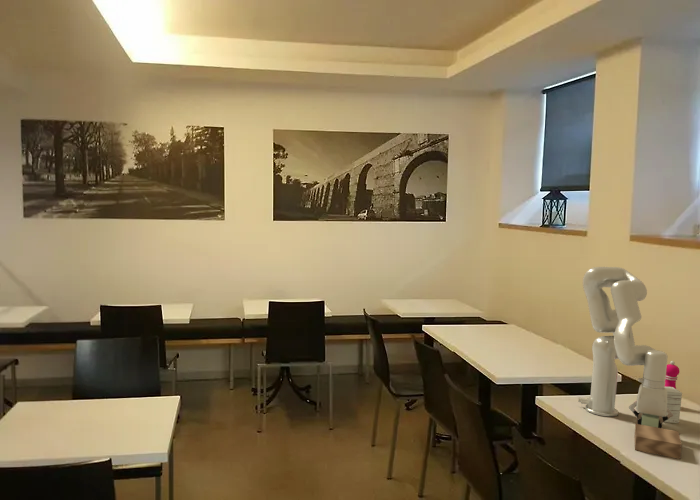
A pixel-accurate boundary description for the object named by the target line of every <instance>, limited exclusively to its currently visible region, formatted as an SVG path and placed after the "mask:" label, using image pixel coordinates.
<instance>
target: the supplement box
mask: <svg viewBox="0 0 700 500" xmlns="http://www.w3.org/2000/svg"><path fill="white" fill-rule="evenodd" d="M665 388H666V390H667V407H668V408H669V409H670V411H671V412H672V413H673V417H671V418H669V419H668V420H666V421H664V422H663V423H673V424H679V422H680V415H681V407H682V398H683V392H681V391H680V390H679V389H677V388H676V389H675V388H673V387H665ZM667 414H668V413H667V412H666V415H667ZM662 417H663V416H662Z"/></svg>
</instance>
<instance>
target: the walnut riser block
mask: <svg viewBox="0 0 700 500" xmlns="http://www.w3.org/2000/svg"><path fill="white" fill-rule="evenodd" d="M679 433H680V431H679V430H678V431H677V430H674V429H673V430H672V429H667V428H657V427H651V426H646V425H640V424H637V423H635V426H634V437H633V438H634V439H633V440H634V451H637V452H644V453H647V454H652V455H653V454H654V455H657V454H658V456H662V455H663V456H664V457H668V458H673V459H679V460H681V456H682V455H681V454H682V446H683V444H682V441H681V436H680V434H679Z"/></svg>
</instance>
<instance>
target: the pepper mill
mask: <svg viewBox="0 0 700 500" xmlns="http://www.w3.org/2000/svg"><path fill="white" fill-rule="evenodd" d="M679 374H680V368H679V367H678V366H677V365H676V363H675V361H674V360H671V361H670V362H669V363H667V369H666V378H665V387H673V388H675V389H677V387H676V386H677V385H676V383H677V381H678V375H679Z"/></svg>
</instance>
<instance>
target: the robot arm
mask: <svg viewBox="0 0 700 500" xmlns="http://www.w3.org/2000/svg"><path fill="white" fill-rule="evenodd" d="M582 287H583V288H582V289H583V291H584V295H585V297H586V300H587V306H588V312H589V316H590V321H591V326H592V330H594V331H595V332H596V333H600V334H603V333H604V334H608V333H609V334H610V333H612V335H602V336H598V337H596V338H595V339H594V340H593V343H592V344H591V345H592V346H591V350H592V375H591V384H590V386H591V387H590V396H589V398H588V397H587V398H583V397H578V402H577V403H580V404H581V405H585V410H586V411H587V412H589V413H591V414H594V415H598V416H602V417H615V416H618V415H619V411H618V409H617V408H616V395H617V385H618V375H619V374H618V373H619V372H618V365H617V363H616V361H615V360H619V361H620V362H621V363H620V364H622V365H625V366H628V367H630V366H643V374H642V377H639V378H638V380H637V381H638V383H641V384H640V385H639V388H638V391H637V392H638V393H637V396H636V397H637V398H636V401H635V402H633V403H632V404H630V405H629V406H628V409H629V411H631V412H632V414H633V415H634V416H635V417H636V418H637V423H636V424H640V425H642V415H643V413H645V414H650V415H656V416H658V417H659V423H658V428H662V427H663V423H665V422H664V421H666V420H668V419H669V418H671V417H673V413H672V412H671V411H670V409H669V408H668V407H667V390H666V388H665V378H666V369H667V365H668V354H667V353H666V352H665V351H663V350H657V349H656V348H653V347H651V346H649V345H646V344H645V345H644V344H641V345H636V342H635V338H634V333H633V329H632V327H633V326H634V325H635V324H636V323H638V322H640V321H641V319H642V314H641V313H642V312H641V310H640V307H639V303H638V302H641V301H644V300H645V299H646V297H647V295H648V290H647V287H646V285H645V284H644V282H643V281H642V280H641V279H640V278H638V276H637V277H636V276H635V275H634V274H632V273H631V272H630V271H628V270H627V269H625V268H623V267H619V266H618V267H617V266H596V267H595V266H593V267H591V268H590V269H587V271H586V272H585V273H584V275H583V278H582ZM604 288H610V293H611V298H612V302H613V305H614V308H615V309H612V306H611V302H610V298H609V296H608V295H607V293H606V291H604ZM666 412H667V413H668V414H667V415H666ZM662 416H663V417H662ZM662 429H663V428H662Z"/></svg>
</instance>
